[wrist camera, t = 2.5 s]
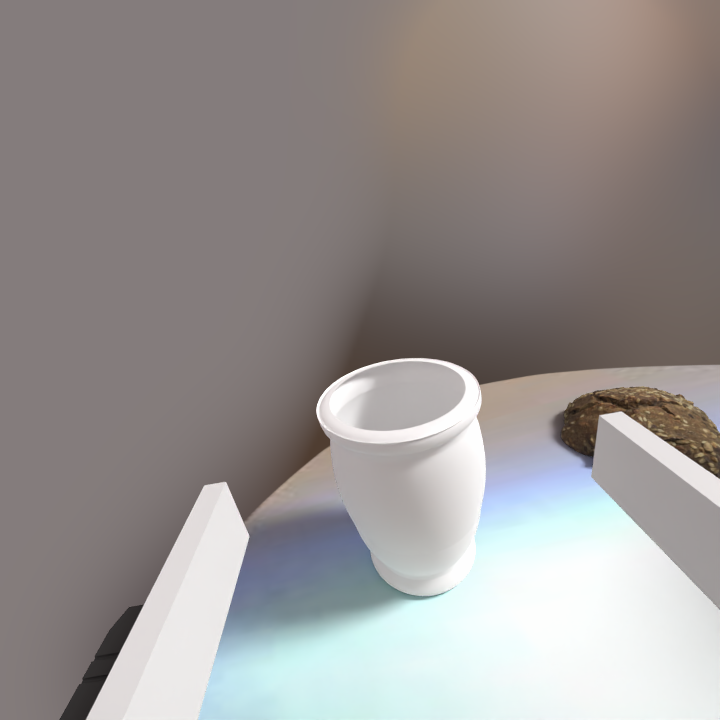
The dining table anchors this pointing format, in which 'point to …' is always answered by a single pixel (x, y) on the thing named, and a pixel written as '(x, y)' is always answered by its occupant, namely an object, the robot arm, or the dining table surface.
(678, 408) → the bread roll
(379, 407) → the jar
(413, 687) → the dining table surface
